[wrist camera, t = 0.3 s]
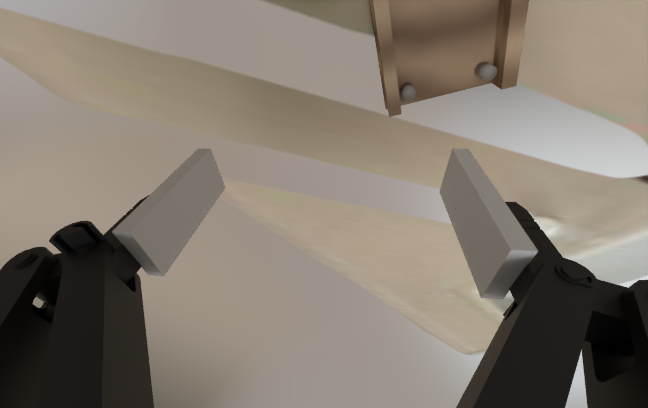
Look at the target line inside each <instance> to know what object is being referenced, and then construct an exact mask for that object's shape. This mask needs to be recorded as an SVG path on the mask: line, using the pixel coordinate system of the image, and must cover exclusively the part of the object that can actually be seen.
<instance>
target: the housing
mask: <svg viewBox="0 0 648 408" xmlns="http://www.w3.org/2000/svg"><path fill="white" fill-rule="evenodd" d="M369 1H370V8H371V14H372V21H373V28H374V34H375V41H376V47H377V54H378V60H379V67H380V74H381V81H382V87H383V94H384V100H385V107H386V109H388V112H389V116H395V115H399V114H401V107H400V106H401V105H405V104H409V103H413V102H417V101H421V100H425V99H429V98H433V97H437V96H441V95H445V94H449V93H453V92H457V91H461V90H465V89H469V88H472V87H477V86H481V85H485V84H489V83H493V84H494V85H496V86H497V87H499V88H500V89H505V88H509V87H514V86H516V83H517V77H518V70H519V63H520V56H521V50H522V43H523V36H524V29H525V23H526V16H527V9H528V2H529V0H369Z"/></svg>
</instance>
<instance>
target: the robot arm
mask: <svg viewBox="0 0 648 408" xmlns="http://www.w3.org/2000/svg"><path fill="white" fill-rule="evenodd" d="M224 189H225V185H224V183H223V180H222V177H221V175H220V172H219V169H218V167H217V164H216V161H215V159H214V156H213V154H212V151H211V149H197V150H196V151H195V152H194V153H193V154H192V155H191V156H190V157H189V158H188V159H187V160H186V161H185V162H184V163H183V164H182V165H181V166H180V167H179V168H178V169H177V170H175V171H174V172H173V173H172V174H171V175H170V176H169V177H168V178H167V179H166V180H165V181H164V182H163V183H162V184H161V185H160V186H159V187H158V188H157V189H156V190H155V191H154V192H153V193H151V194H150V195H148V196H147V197H145V198H144V199H142V200H140V201H139V202H138V203H137V204H136V205H135V206H134V207H133V209H131V210H130V211H128V212H127V213H126V215H124V216H123V217H122V218H121V219H120V220H119V221H118V222H117V223H116V224H115V225H114V226H113V227H111V228H110V230H108V231H107V232H106V233H105V234H104V235H102V234H101V233H100V231H99V230H98V229H97V228H96V227H95V226H94V225H93V224H92V222H89V221H80V222H76V223H72V224H70V225H68V226H66V227H64V228H62V229H60V230H59V231H57V232H56V233H55V234H54V235H53V236H52V237H51V238H50V240H49V242H51V243H52V244H53V245H54V246H55V247H56V248H57V249H58V250H59V251H60V252H62V253H60V254H55V255H54V254H52V253H51V252H50V251H49V250H48V249H47V248H45V247H36V248H32V249H29V250H25V251H23V252H22V253H19V254H17V255H16V256H15V257H13V258H12V259H10V260H9V261H8V262H7V263H6V264H5V265H4V266H3V267H2V269H1V270H0V408H154V404H153V395H152V386H151V376H150V366H149V357H148V349H147V348H148V347H147V338H146V329H145V320H144V310H143V301H142V291H141V282H140V277H139V275H138V274H137V271H138V270H139V269H140V268H141V267H142V268H143V269H144V270H145V272H146V273H147V274H148V275H157V276H164V275H165V274H166V272H167V271H168V269H169V268H170V267H171V265H172V264H173V262H174V261H175V259H176V258H177V257H178V255H179V254H180V252H181V251H182V249H183V248H184V246H185V245H186V244H187V242H188V241H189V239H190V238H191V236H192V235H193V233H194V232H195V231H196V229H197V228H198V226H199V225H200V223H201V222H202V221H203V219H204V218H205V216H206V215H207V213H208V212H209V211H210V209H211V208H212V206H213V205H214V203H215V202H216V200H217V199H218V198H219V196H220V195H221V193H222V192H223V190H224ZM440 194H441V197H442V199H443V202H444V204H445V207H446V209H447V212H448V215H449V217H450V220H451V222H452V225H453V227H454V230H455V232H456V235H457V238H458V240H459V243H460V245H461V248H462V250H463V253H464V255H465V258H466V260H467V263H468V266H469V268H470V271H471V273H472V276H473V278H474V281H475V283H476V286H477V288H478V291H479V294H480V296H481V298H494V299H503V298H504V297H505V296H506V294H507V293H508V292H509V290H510V292H511V294H512V296H513V298H514V302H513V303H512V304H511V305H510V307H509V308H508V309H507V310H506V312H505V313H504V314H503V315H504V316H505V317H504V319H503V321H502V323H501V324H500V326H499V328H498V330H497V332H496V334H495V336H494V338H493V339H492V341H491V343H490V345H489V347H488V349H487V351H486V353H485V355H484V356H483V358H482V360H481V362H480V364H479V366H478V368H477V370H476V372H475V373H474V375H473V377H472V379H471V381H470V383H469V385H468V387H467V388H466V390H465V392H464V394H463V396H462V398H461V400H460V402H459V403H458V405H457V407H456V408H565V405H566V402H567V398H568V395H569V391H570V388H571V384H572V380H573V377H574V373H575V370H576V366H577V363H578V360H579V356H580V352H581V349H582V357H583V366H584V376H585V385H586V396H587V405H588V408H648V280H639V281H637V282H636V283H634V284H633V285H632V286H630V287H629V288H627V287H623V286H620V285H616V284H612V283H609V282H605V281H601V280H598V279H596V277H595V276H594V274H593V273H591V272H590V271H589V270H588V269H587V268H586V267H584V266H582V265H580V264H579V263H577V262H575V261H572V260H569V259H566V258H563V257H562V256H561V254H560V253H559V252H558V250H557V249H556V248H555V246H554V245H553V244H552V242H551V241H550V240H549V239H548V237H547V236H546V235H545V233H544V232H543V231H542V230H540V227H539V225H538V224H537V223H536V222H534V219H533V218H532V216H531V215H530V214H529V212H528V211H527V210H526V209H524V208H523V207H522V206H520V205H519V204H517V203H516V202H504V200H503V199H502V197H501V196H500V194H499V193H498V191H497V190H496V189H495V187H494V186H493V184H492V183H491V181H490V180H489V178H488V177H487V175H486V174H485V172H484V171H483V170H482V168H481V167H480V165H479V164H478V162H477V161H476V159H475V158H474V156H473V155H472V153H471V152H470V151H469V149H452V151H451V155H450V158H449V162H448V165H447V168H446V172H445V175H444V179H443V182H442V186H441V189H440ZM35 297H38V298H39V299H40V300H42V301H44V303H43V305H42V307H41V308H37V307H36V306H34V305H33V304H32V303H33V300H34V298H35Z"/></svg>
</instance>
